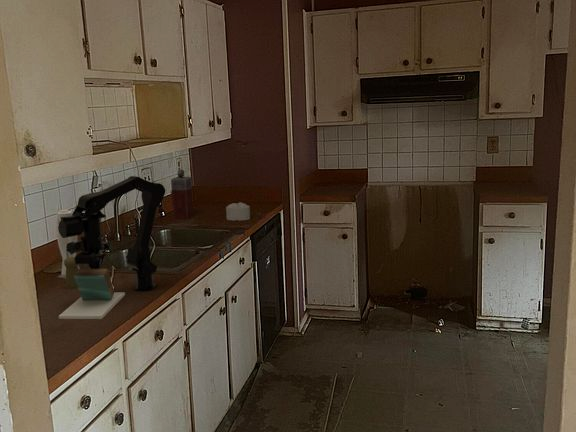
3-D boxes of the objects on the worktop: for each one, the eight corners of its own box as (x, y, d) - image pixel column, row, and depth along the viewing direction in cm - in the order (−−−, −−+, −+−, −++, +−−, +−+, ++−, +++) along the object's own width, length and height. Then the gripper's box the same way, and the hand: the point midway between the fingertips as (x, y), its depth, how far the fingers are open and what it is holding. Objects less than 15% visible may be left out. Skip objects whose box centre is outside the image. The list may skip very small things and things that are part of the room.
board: (86, 295, 204) (86, 292, 204) (124, 295, 203) (124, 292, 203) (58, 318, 183) (58, 315, 182) (101, 318, 182) (101, 316, 182)
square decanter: (176, 215, 336) (173, 168, 330) (193, 216, 334) (191, 168, 328) (169, 218, 328) (166, 170, 322) (187, 219, 325) (184, 170, 319)
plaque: (86, 292, 199) (78, 268, 193) (114, 292, 199) (107, 268, 192) (82, 300, 196) (74, 276, 189) (111, 300, 195) (103, 276, 189)
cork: (84, 283, 217) (81, 255, 215) (79, 288, 212) (76, 259, 209) (68, 283, 217) (65, 255, 215) (63, 288, 211) (59, 260, 209)
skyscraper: (55, 276, 226) (47, 207, 220) (71, 271, 233) (64, 203, 227) (70, 279, 222) (62, 209, 216) (86, 273, 229) (79, 205, 223)
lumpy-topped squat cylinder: (231, 216, 332) (231, 201, 330) (252, 217, 328) (252, 202, 326) (224, 220, 322) (224, 205, 320) (246, 221, 318) (245, 205, 316)
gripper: (80, 226, 202) (84, 268, 205) (56, 239, 184) (61, 285, 187) (111, 225, 201) (114, 268, 204) (90, 239, 183) (94, 285, 186)
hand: (96, 276), depth 196 cm, fingers closed
